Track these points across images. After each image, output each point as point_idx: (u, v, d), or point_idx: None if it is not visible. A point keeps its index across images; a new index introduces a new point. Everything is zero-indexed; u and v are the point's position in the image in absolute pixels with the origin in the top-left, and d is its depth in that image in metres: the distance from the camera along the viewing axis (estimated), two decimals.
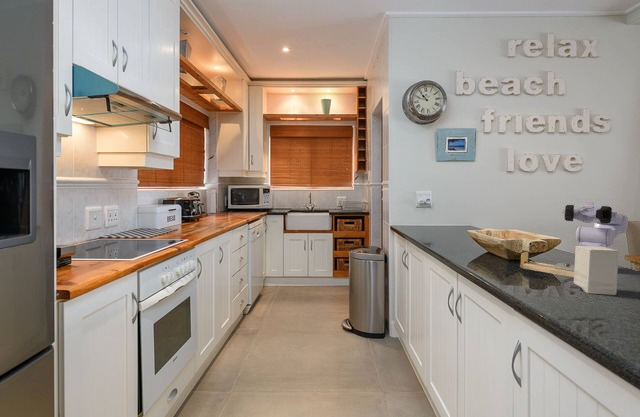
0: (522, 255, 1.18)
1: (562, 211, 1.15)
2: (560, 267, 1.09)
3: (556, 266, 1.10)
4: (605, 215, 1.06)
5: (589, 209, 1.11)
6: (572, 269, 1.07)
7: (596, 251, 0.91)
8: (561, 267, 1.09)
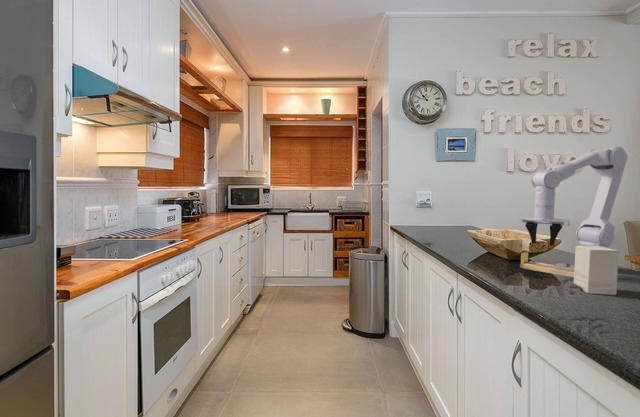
0: (522, 255, 1.18)
1: None
2: (560, 267, 1.09)
3: (556, 266, 1.10)
4: None
5: None
6: (572, 269, 1.07)
7: (596, 251, 0.91)
8: (561, 267, 1.09)
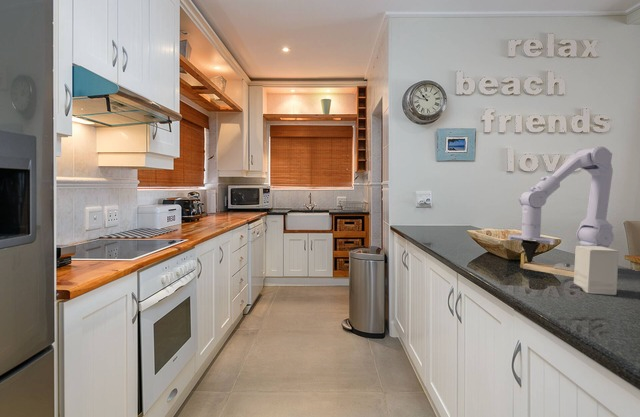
0: (522, 255, 1.18)
1: (509, 239, 1.23)
2: (560, 267, 1.09)
3: (556, 266, 1.10)
4: None
5: None
6: (572, 269, 1.07)
7: (596, 251, 0.91)
8: (561, 267, 1.09)
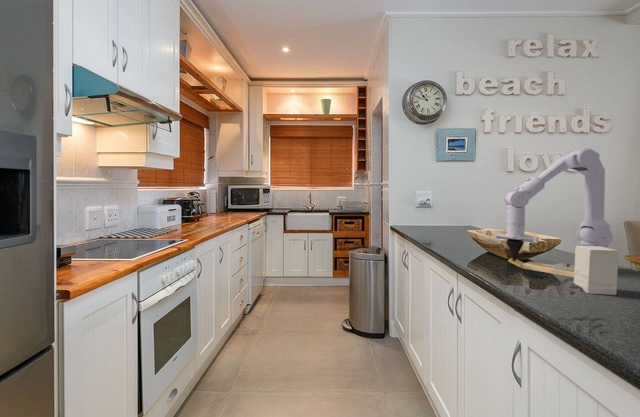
0: (510, 261, 1.22)
1: None
2: (560, 267, 1.09)
3: (556, 266, 1.10)
4: None
5: None
6: (572, 269, 1.07)
7: (596, 251, 0.91)
8: (561, 267, 1.09)
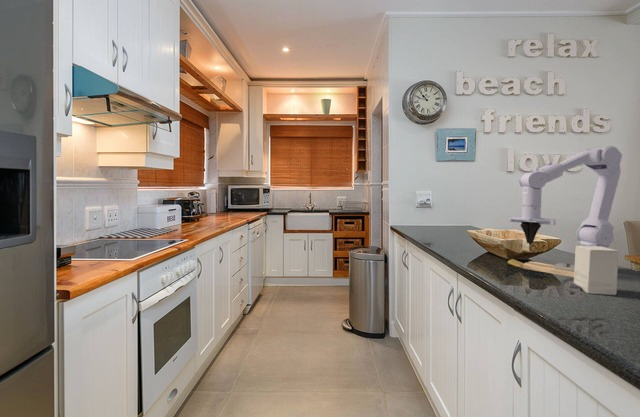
0: (509, 262, 1.22)
1: (509, 221, 1.23)
2: (560, 267, 1.09)
3: (556, 266, 1.10)
4: None
5: None
6: (572, 269, 1.07)
7: (596, 251, 0.91)
8: (561, 267, 1.09)
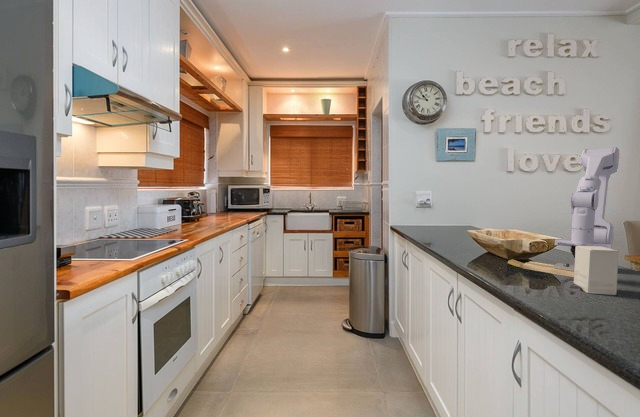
0: (509, 262, 1.22)
1: None
2: (560, 267, 1.09)
3: (556, 266, 1.10)
4: None
5: None
6: (572, 269, 1.07)
7: (596, 251, 0.91)
8: (561, 267, 1.09)
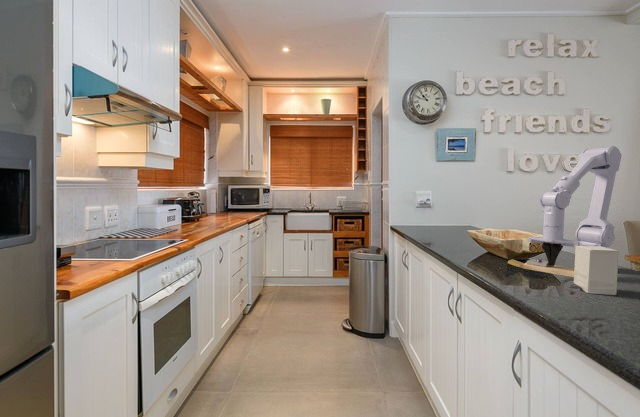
0: (509, 262, 1.22)
1: (529, 241, 1.18)
2: (532, 263, 1.16)
3: (529, 262, 1.16)
4: None
5: None
6: (543, 264, 1.13)
7: (596, 251, 0.91)
8: (533, 263, 1.15)
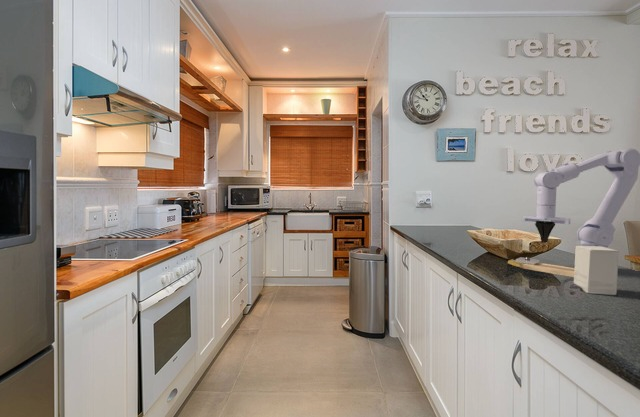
0: (509, 262, 1.22)
1: None
2: (521, 261, 1.18)
3: (517, 260, 1.19)
4: None
5: None
6: (531, 263, 1.16)
7: (596, 251, 0.91)
8: (522, 261, 1.18)
